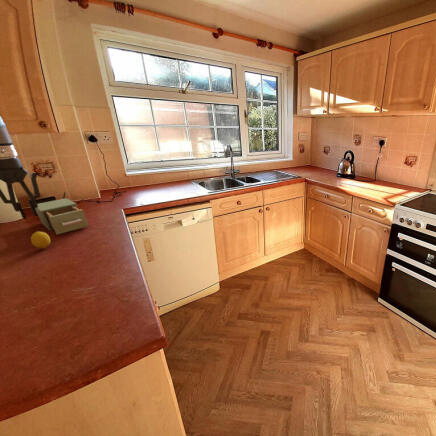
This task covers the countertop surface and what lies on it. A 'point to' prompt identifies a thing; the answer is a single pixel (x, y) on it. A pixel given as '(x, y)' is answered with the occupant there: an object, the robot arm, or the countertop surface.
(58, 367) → the countertop surface
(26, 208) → the countertop surface
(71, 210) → the drawer
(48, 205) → the cabinet
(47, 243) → the lemon
